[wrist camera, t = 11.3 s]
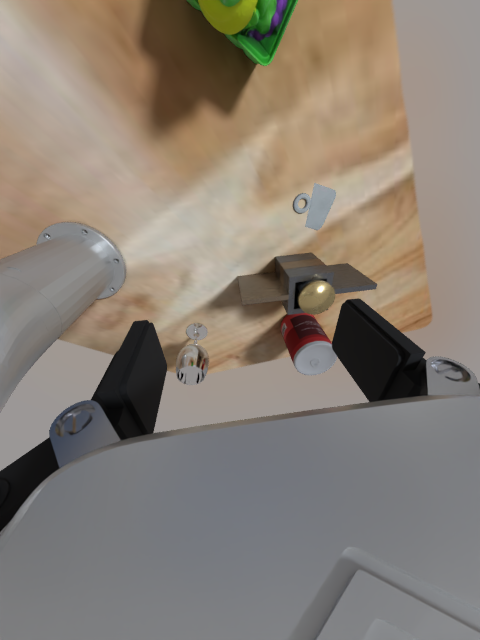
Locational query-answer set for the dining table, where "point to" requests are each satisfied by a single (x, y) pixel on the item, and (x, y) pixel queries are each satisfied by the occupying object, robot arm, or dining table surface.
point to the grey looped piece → (316, 205)
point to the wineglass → (193, 357)
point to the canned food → (307, 344)
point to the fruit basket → (250, 23)
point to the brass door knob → (315, 296)
